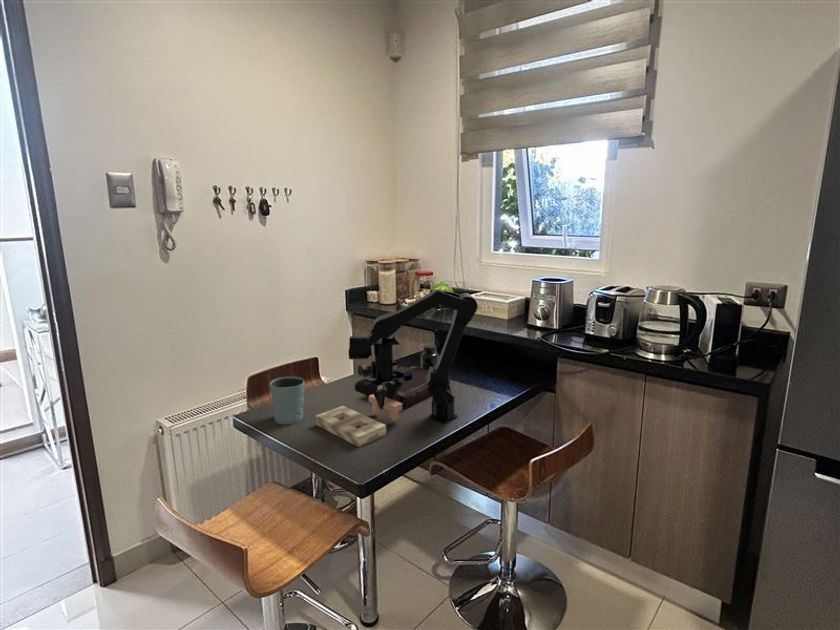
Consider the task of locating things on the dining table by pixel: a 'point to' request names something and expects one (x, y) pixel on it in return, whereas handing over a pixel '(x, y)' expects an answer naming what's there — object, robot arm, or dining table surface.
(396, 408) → the pink rectangular block
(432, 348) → the supplement bottle
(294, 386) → the teal cup
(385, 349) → the robot arm
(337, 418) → the cream two-hole slab
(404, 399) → the diary
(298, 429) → the dining table surface
